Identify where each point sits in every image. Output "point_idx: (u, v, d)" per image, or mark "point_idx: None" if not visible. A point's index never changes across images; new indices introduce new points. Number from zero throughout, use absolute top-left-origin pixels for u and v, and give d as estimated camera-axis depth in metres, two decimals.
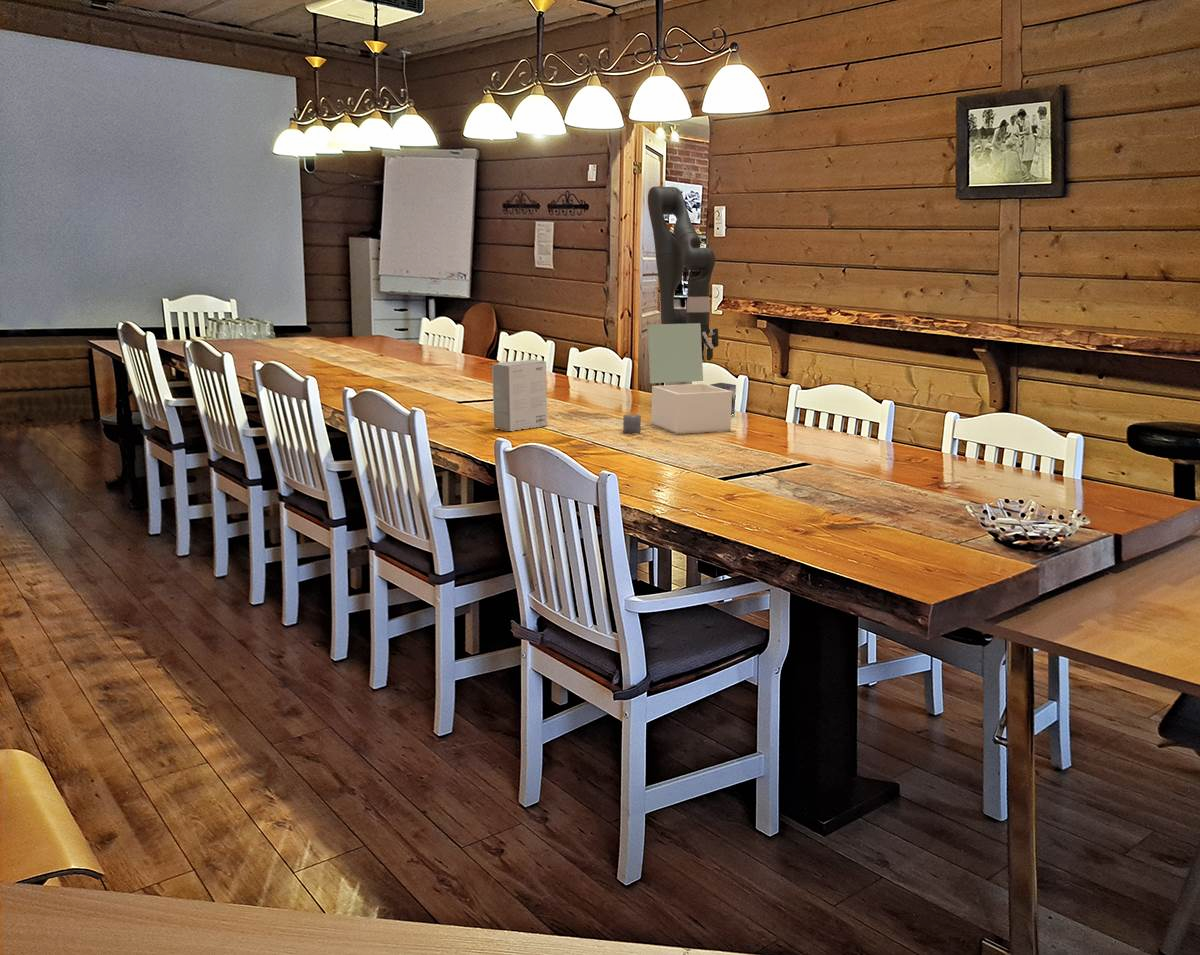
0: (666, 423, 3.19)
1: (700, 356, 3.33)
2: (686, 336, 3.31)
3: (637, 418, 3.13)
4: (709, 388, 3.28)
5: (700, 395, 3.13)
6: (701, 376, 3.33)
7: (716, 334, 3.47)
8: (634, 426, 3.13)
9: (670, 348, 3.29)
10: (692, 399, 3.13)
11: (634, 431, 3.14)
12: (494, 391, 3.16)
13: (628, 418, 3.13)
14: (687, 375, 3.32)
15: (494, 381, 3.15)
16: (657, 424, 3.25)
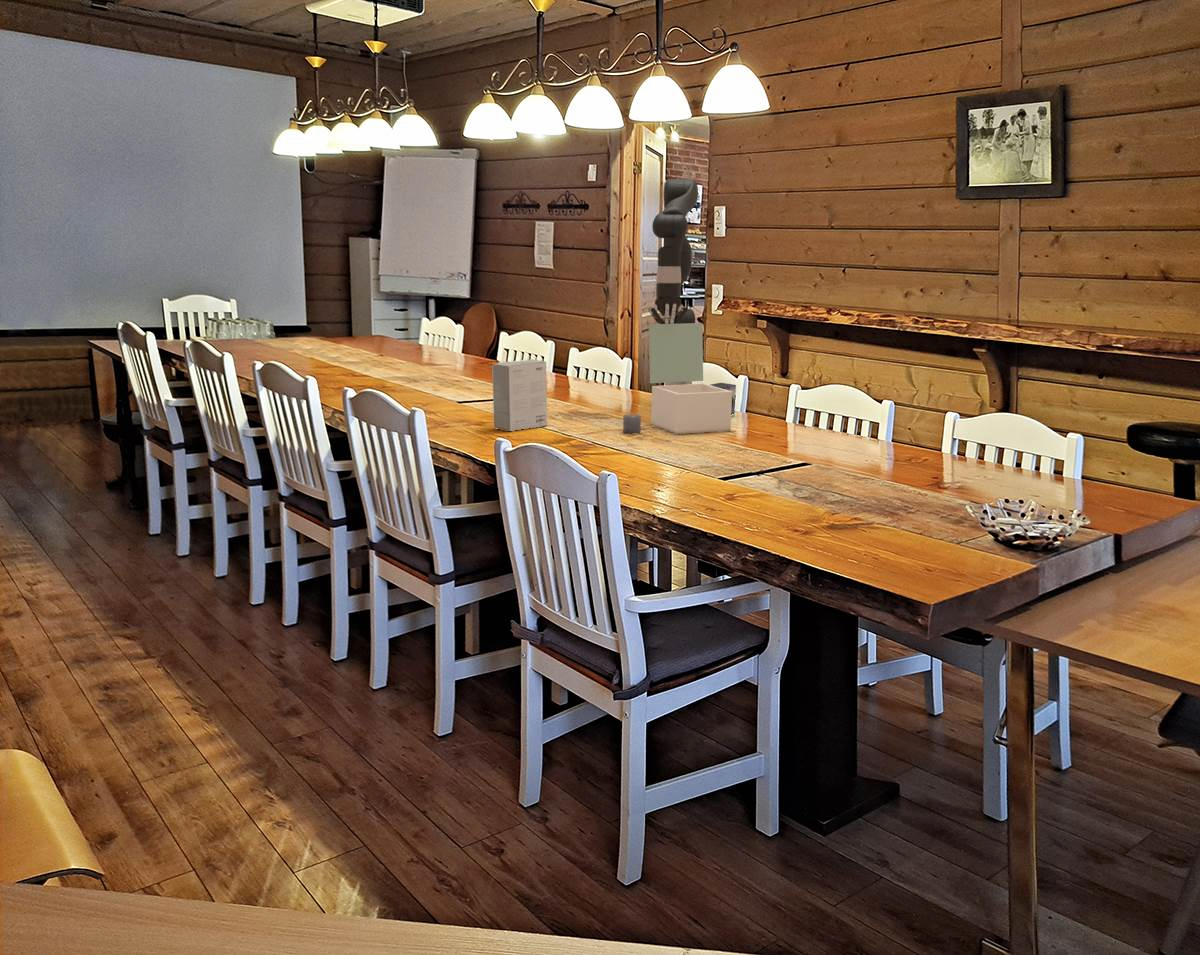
0: (666, 423, 3.19)
1: (701, 356, 3.32)
2: (687, 336, 3.30)
3: (637, 418, 3.13)
4: (709, 388, 3.28)
5: (700, 395, 3.13)
6: (701, 376, 3.33)
7: (683, 312, 3.29)
8: (634, 426, 3.13)
9: (671, 348, 3.28)
10: (692, 399, 3.13)
11: (634, 431, 3.14)
12: (494, 391, 3.16)
13: (628, 418, 3.13)
14: (687, 375, 3.31)
15: (494, 381, 3.15)
16: (657, 424, 3.25)
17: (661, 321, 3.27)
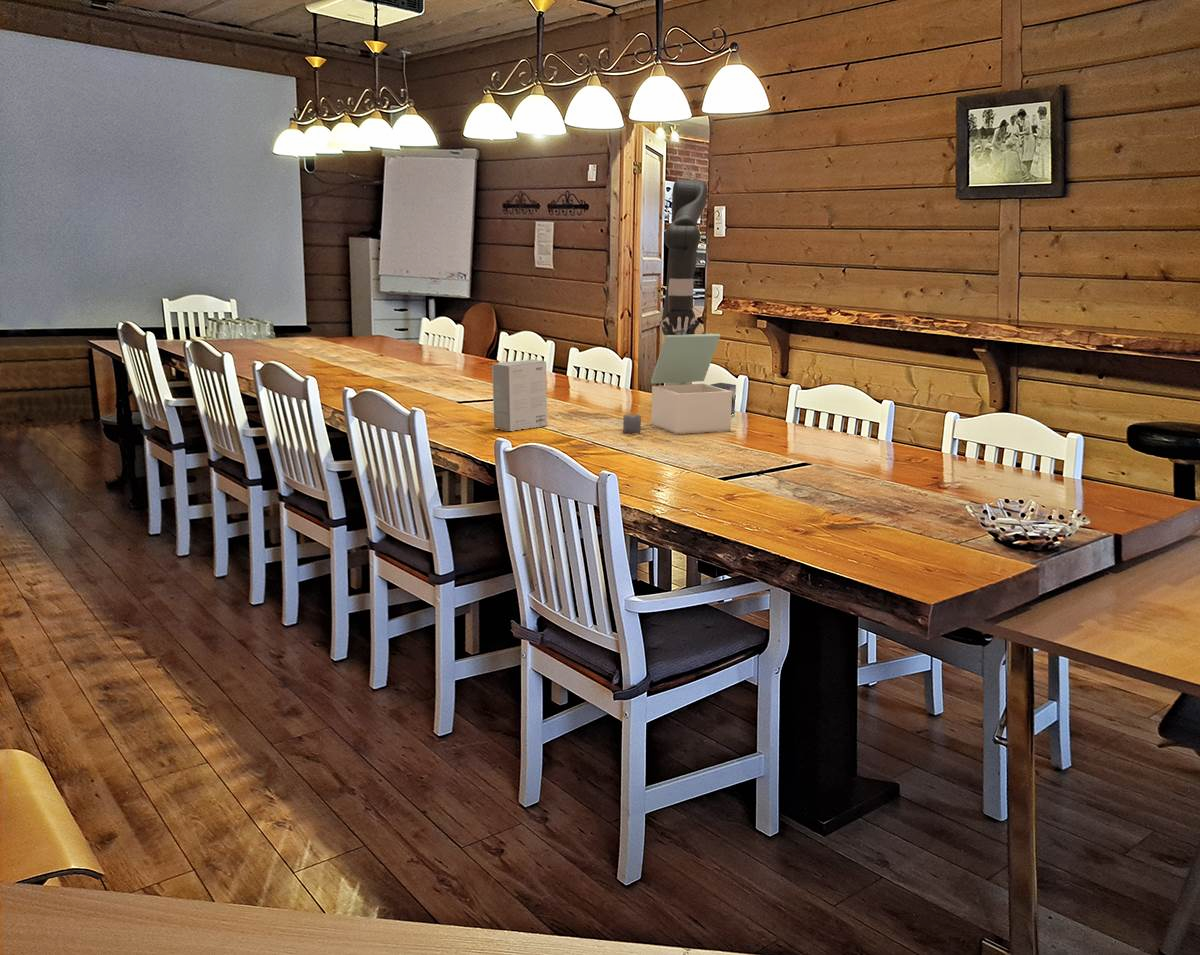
0: (666, 423, 3.19)
1: (709, 362, 3.28)
2: (701, 346, 3.22)
3: (637, 418, 3.13)
4: (709, 388, 3.28)
5: (700, 395, 3.13)
6: (703, 377, 3.32)
7: (695, 325, 3.22)
8: (634, 426, 3.13)
9: (681, 356, 3.22)
10: (692, 399, 3.13)
11: (634, 431, 3.14)
12: (494, 391, 3.16)
13: (628, 418, 3.13)
14: (689, 377, 3.30)
15: (494, 381, 3.15)
16: (657, 424, 3.25)
17: (673, 334, 3.20)
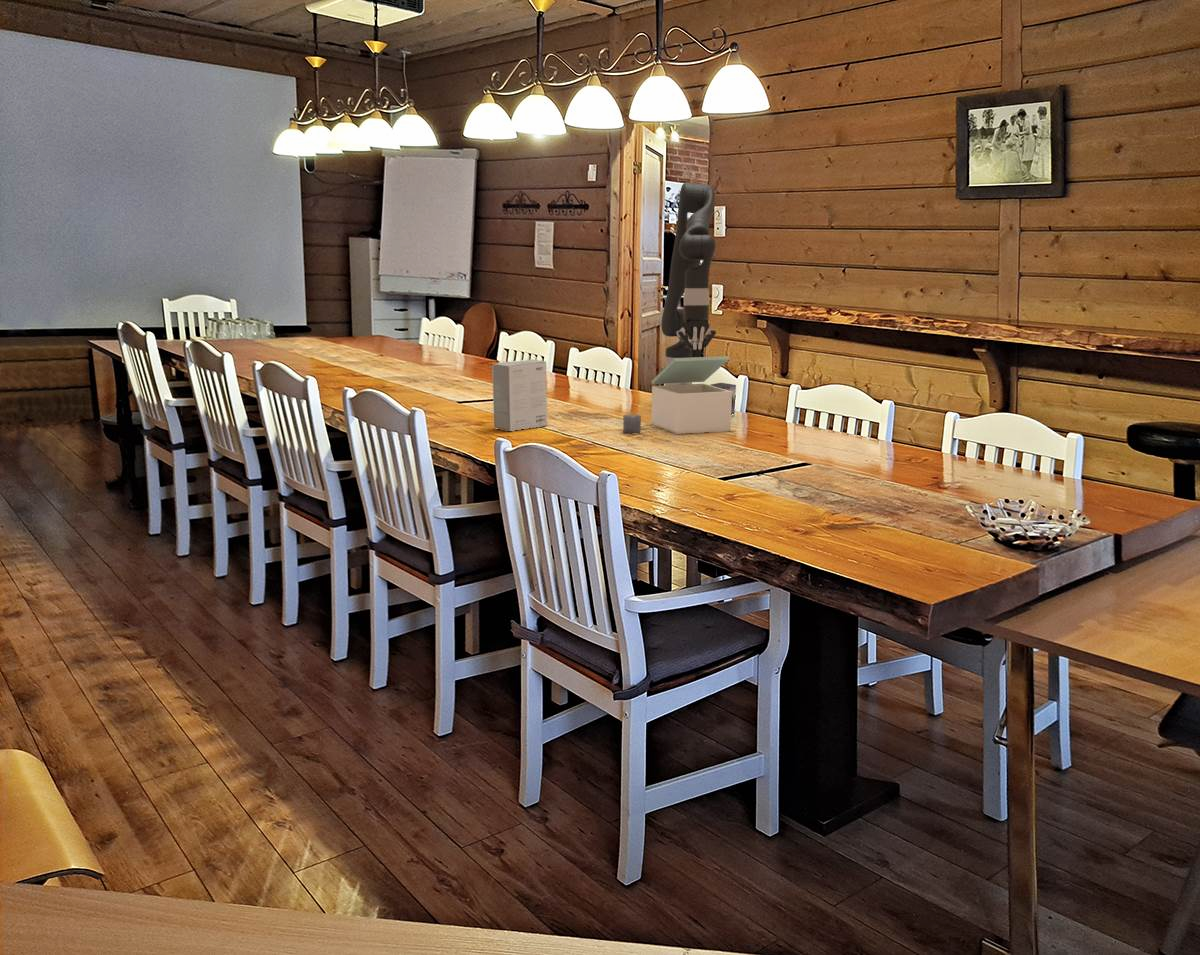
0: (666, 423, 3.19)
1: (712, 372, 3.26)
2: (708, 365, 3.19)
3: (637, 418, 3.13)
4: (709, 388, 3.28)
5: (700, 395, 3.13)
6: (704, 380, 3.32)
7: (711, 336, 3.17)
8: (634, 426, 3.13)
9: (686, 370, 3.20)
10: (692, 399, 3.13)
11: (634, 431, 3.14)
12: (494, 391, 3.16)
13: (628, 418, 3.13)
14: (691, 380, 3.30)
15: (494, 381, 3.15)
16: (657, 424, 3.25)
17: (689, 345, 3.15)
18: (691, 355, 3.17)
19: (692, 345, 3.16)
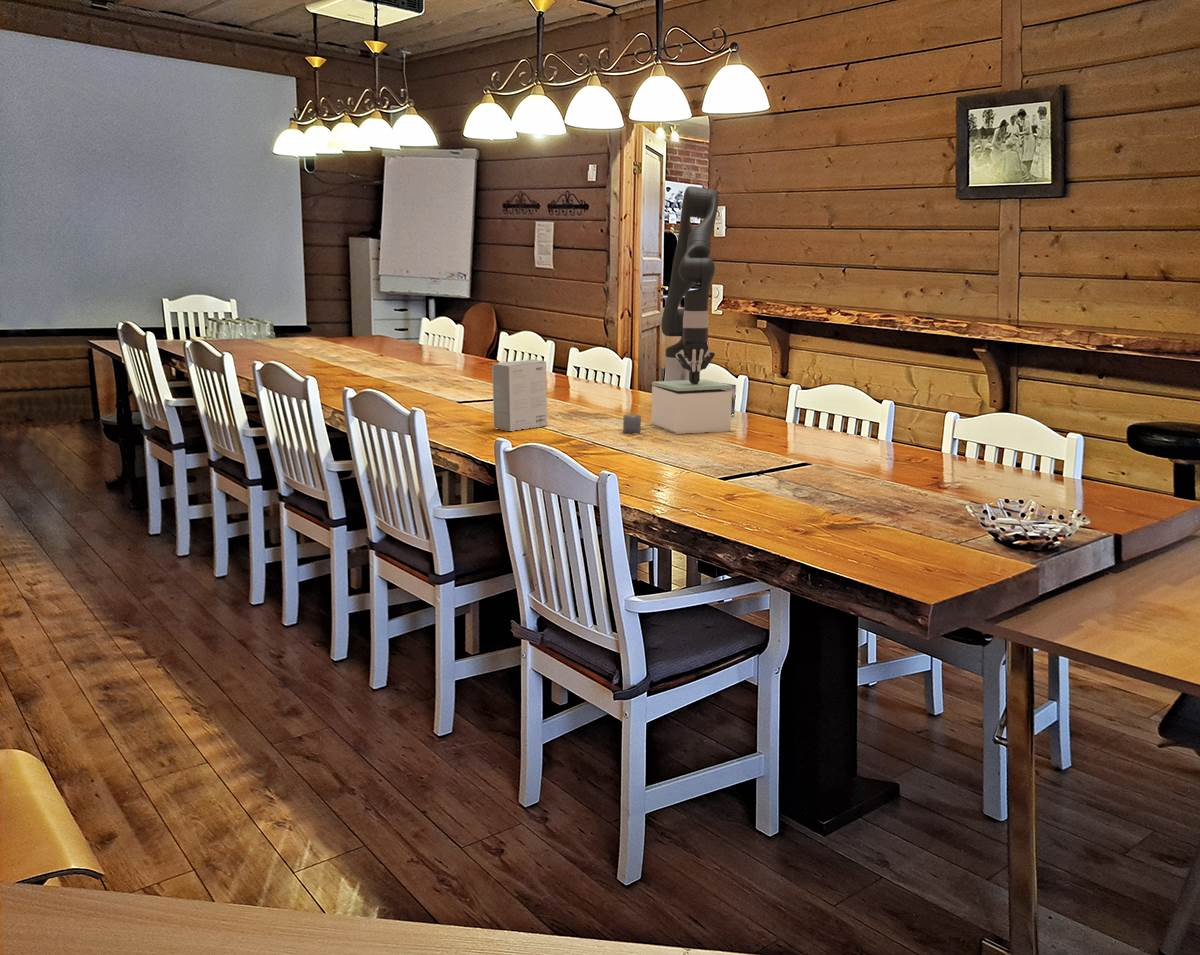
0: (666, 423, 3.19)
1: None
2: None
3: (637, 418, 3.13)
4: None
5: (700, 395, 3.13)
6: None
7: (710, 358, 3.19)
8: (634, 426, 3.13)
9: None
10: (692, 399, 3.13)
11: (634, 431, 3.14)
12: (494, 391, 3.16)
13: (628, 418, 3.13)
14: None
15: (494, 381, 3.15)
16: (657, 424, 3.25)
17: (688, 367, 3.17)
18: (690, 377, 3.19)
19: (691, 367, 3.17)
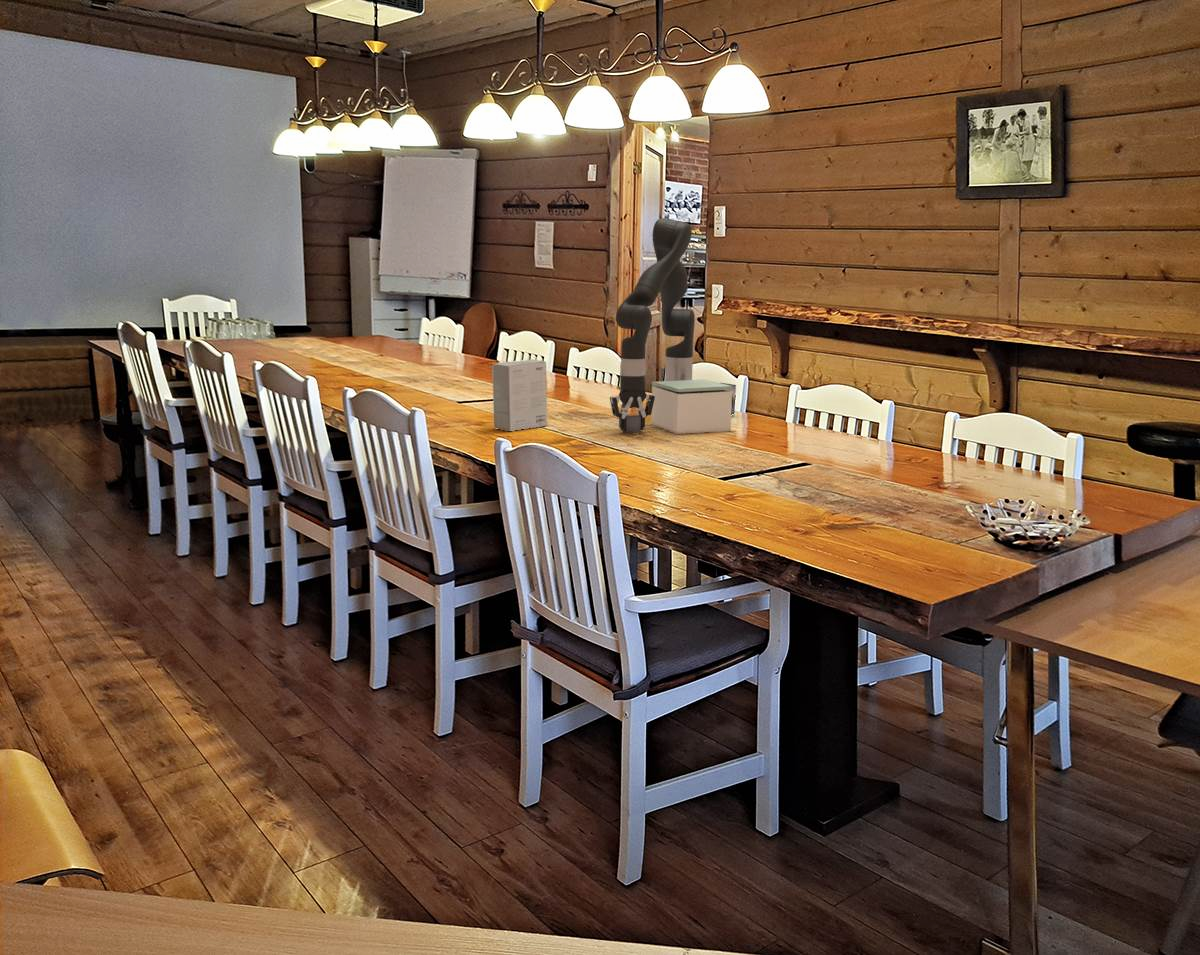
0: (666, 423, 3.19)
1: None
2: None
3: (637, 418, 3.13)
4: None
5: (700, 395, 3.13)
6: None
7: (651, 401, 3.15)
8: (634, 426, 3.13)
9: None
10: (692, 399, 3.13)
11: (634, 431, 3.14)
12: (494, 391, 3.16)
13: (628, 418, 3.13)
14: None
15: (494, 381, 3.15)
16: (657, 424, 3.25)
17: (617, 414, 3.12)
18: (620, 424, 3.14)
19: (622, 413, 3.13)
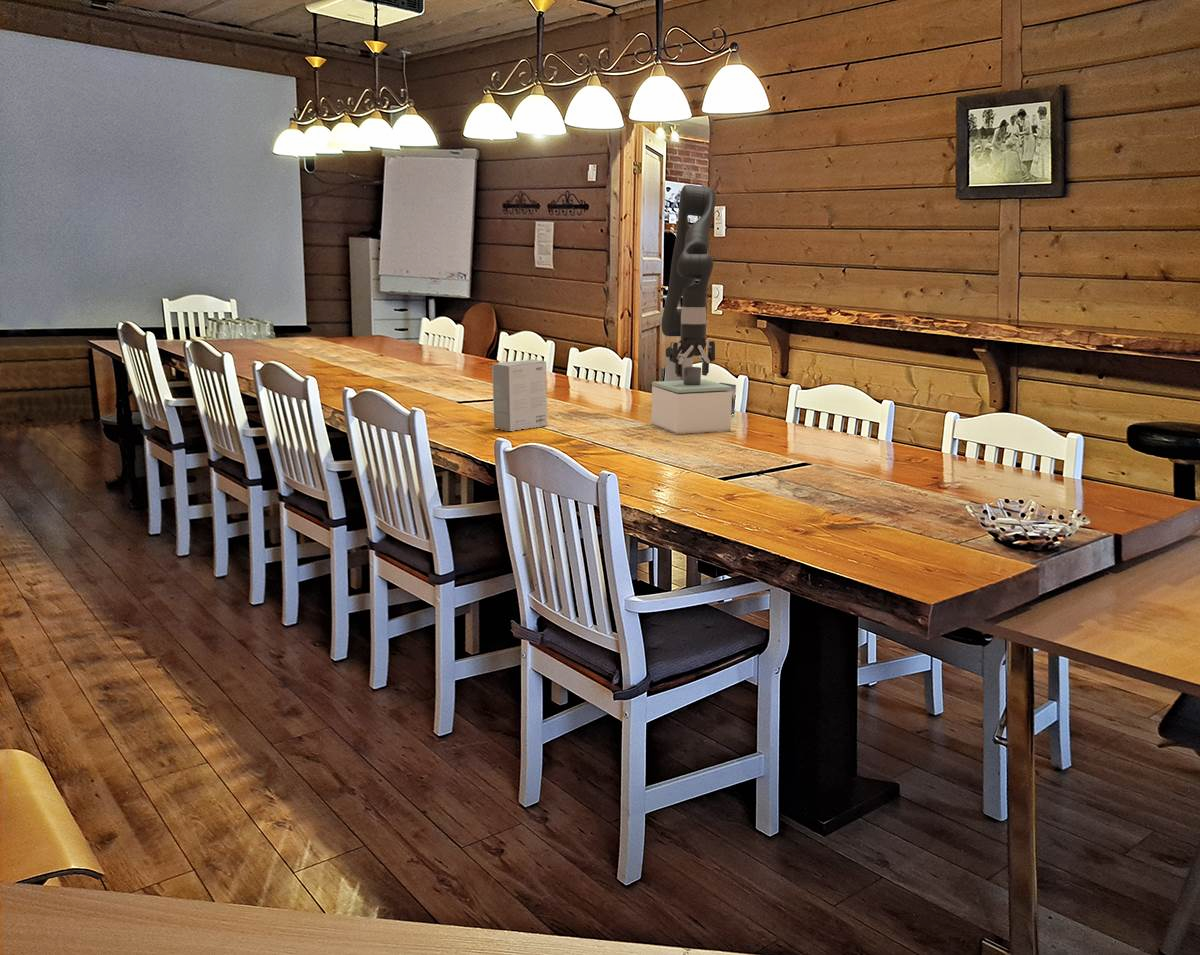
0: (666, 423, 3.19)
1: None
2: None
3: (698, 370, 3.19)
4: None
5: (700, 395, 3.13)
6: None
7: (713, 347, 3.20)
8: (694, 378, 3.19)
9: None
10: (692, 399, 3.13)
11: (694, 382, 3.19)
12: (494, 391, 3.16)
13: (689, 369, 3.18)
14: None
15: (494, 381, 3.15)
16: (657, 424, 3.25)
17: (674, 359, 3.16)
18: (676, 369, 3.19)
19: (679, 359, 3.17)
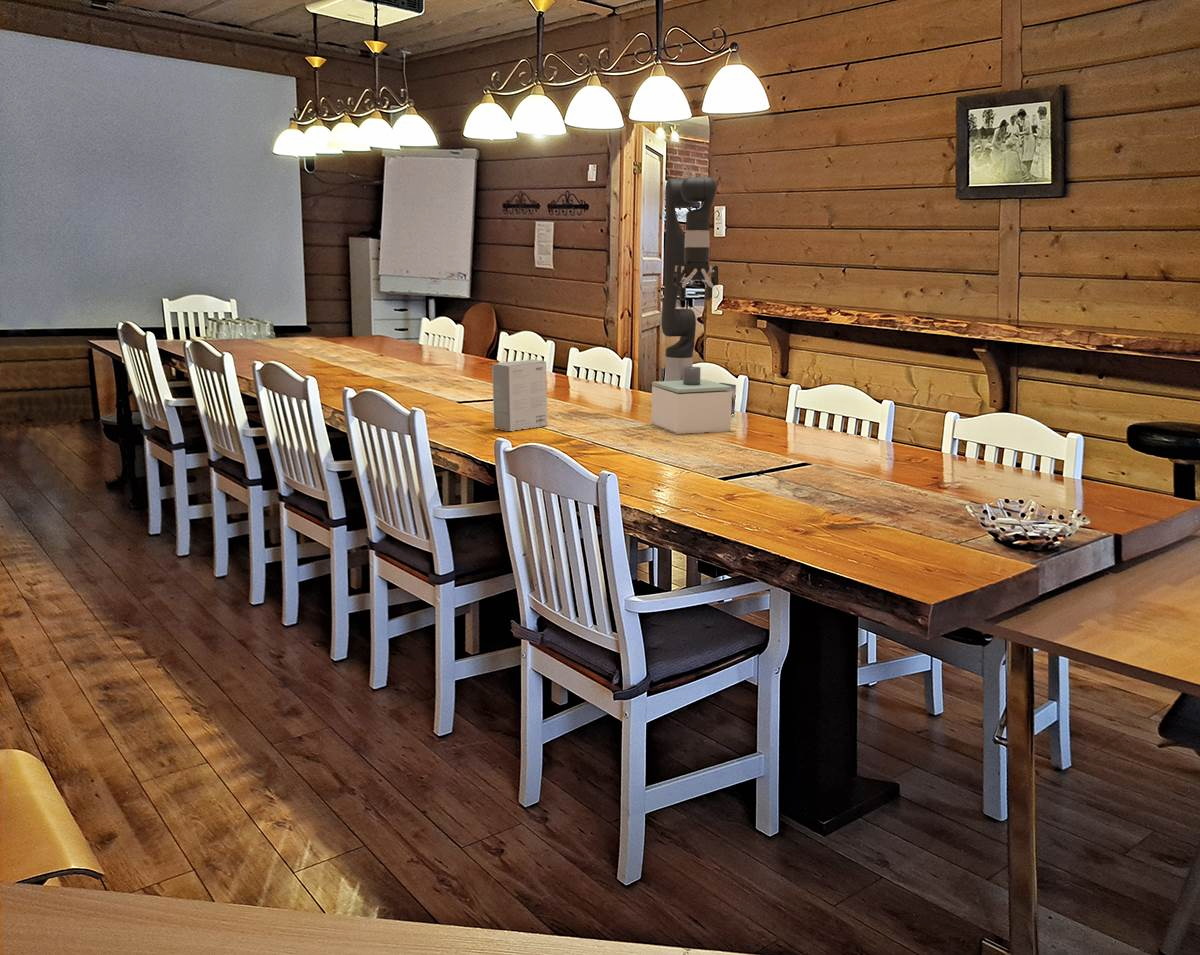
0: (666, 423, 3.19)
1: None
2: None
3: (697, 369, 3.18)
4: None
5: (700, 395, 3.13)
6: None
7: (716, 272, 3.23)
8: (693, 377, 3.19)
9: None
10: (692, 399, 3.13)
11: (694, 382, 3.19)
12: (494, 391, 3.16)
13: (688, 369, 3.18)
14: None
15: (494, 381, 3.15)
16: (657, 424, 3.25)
17: (678, 283, 3.19)
18: (680, 293, 3.21)
19: (683, 282, 3.20)
